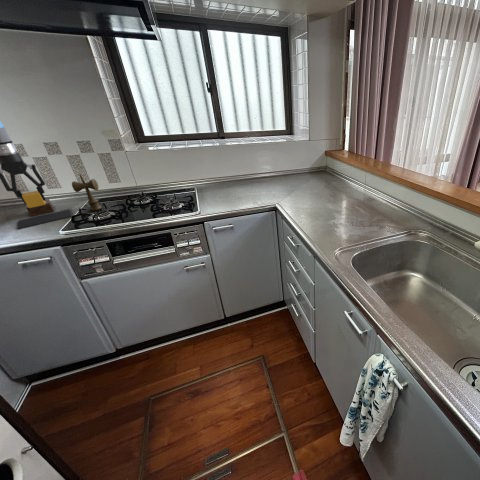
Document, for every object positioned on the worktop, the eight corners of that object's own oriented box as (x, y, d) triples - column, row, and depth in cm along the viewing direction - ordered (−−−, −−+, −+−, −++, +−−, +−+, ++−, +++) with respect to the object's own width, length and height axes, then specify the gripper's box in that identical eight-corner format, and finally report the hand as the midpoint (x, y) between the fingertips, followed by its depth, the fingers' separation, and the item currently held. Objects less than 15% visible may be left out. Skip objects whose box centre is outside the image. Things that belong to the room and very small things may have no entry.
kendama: (105, 210, 145) (89, 174, 135) (84, 213, 142) (65, 176, 132) (108, 206, 150) (92, 171, 140) (87, 209, 147) (70, 173, 137)
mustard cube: (29, 208, 129) (21, 196, 126) (29, 204, 133) (22, 193, 130) (45, 204, 132) (38, 193, 129) (45, 201, 136) (38, 190, 133)
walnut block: (31, 216, 139) (25, 207, 137) (31, 211, 145) (26, 203, 143) (54, 211, 145) (49, 203, 142) (53, 206, 150) (48, 198, 148)
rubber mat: (17, 229, 127) (17, 228, 127) (19, 221, 134) (18, 220, 134) (71, 216, 138) (71, 215, 138) (69, 210, 146) (69, 209, 146)
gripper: (-26, 158, 112) (7, 209, 124) (35, 151, 123) (60, 198, 135) (-23, 156, 117) (9, 204, 129) (35, 149, 128) (60, 194, 140)
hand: (35, 201), depth 132 cm, fingers closed on mustard cube, 6 cm apart
